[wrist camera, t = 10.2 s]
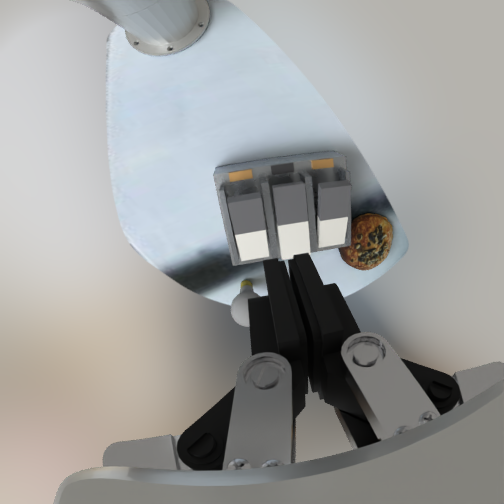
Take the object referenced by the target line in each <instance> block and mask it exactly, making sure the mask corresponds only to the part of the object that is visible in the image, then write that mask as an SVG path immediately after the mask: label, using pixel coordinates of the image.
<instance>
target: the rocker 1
mask: <svg viewBox="0 0 504 504" xmlns="http://www.w3.org/2000/svg"><path fill="white" fill-rule="evenodd" d="M227 203H228V208H229V212H230V216H231V220H232V224H233V229H234V233H235V237H236V241H237V245H238V249H239V253H240V257H241V261H245V260H251V259H257V258H263V257H269V251H268V243H267V236H266V228H265V221H264V214H263V206H262V199H261V194H260V192H257V193H251V194H245V195H239V196H234V197H228V198H227Z"/></svg>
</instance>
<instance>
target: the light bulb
mask: <svg viewBox="0 0 504 504" xmlns="http://www.w3.org/2000/svg"><path fill="white" fill-rule="evenodd" d="M255 297H260V296H259V295H258V294H256V293H254V291H253V287H252V283H251V282H250V281H248V280H244V281H242V283H241V289H240V294H238V295H237V296H236V297H235V298H234V300H233V301H232V304H231V314H232V316H233V318H234V320H235V321H236V322H237V323H238V324H240V325H242V326H247V327H250V325H249V312H248V299H249V298H255Z"/></svg>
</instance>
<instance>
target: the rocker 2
mask: <svg viewBox="0 0 504 504" xmlns="http://www.w3.org/2000/svg"><path fill="white" fill-rule="evenodd" d="M272 191H273V199H274V206H275V213H276V221H277V228H278V236H279V244H280V252H281V257H282V260H285V259H290V258H293V255H297V254H302V253H309V255H310V239H309V225H308V213H307V201H306V190H305V183H304V182H303V181H299V182H291V183H285V184H278V185H272Z"/></svg>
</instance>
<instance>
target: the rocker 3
mask: <svg viewBox="0 0 504 504" xmlns="http://www.w3.org/2000/svg"><path fill="white" fill-rule="evenodd" d="M351 187H352V185H351V184H350V182H349V181H348V180H343V181H334V182H326V183H318V219H317V245H318V247H319V248H321V247H327V246H333V245H339V244H344V243H345V236H346V229H347V221H348V213H349V205H350V196H351Z"/></svg>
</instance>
